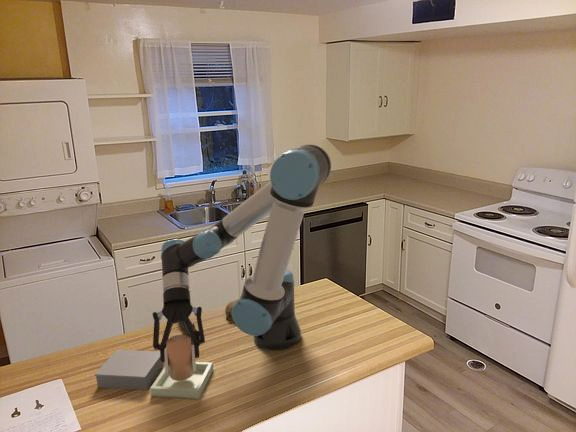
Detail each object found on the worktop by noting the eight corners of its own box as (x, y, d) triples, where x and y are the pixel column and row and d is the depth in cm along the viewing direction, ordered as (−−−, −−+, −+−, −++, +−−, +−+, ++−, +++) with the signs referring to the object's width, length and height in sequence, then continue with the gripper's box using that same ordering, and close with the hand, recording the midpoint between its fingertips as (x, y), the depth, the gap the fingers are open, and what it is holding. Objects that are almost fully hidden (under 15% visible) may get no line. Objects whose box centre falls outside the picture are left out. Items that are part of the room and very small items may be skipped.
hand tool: (200, 341, 148) (199, 328, 147) (188, 344, 147) (187, 331, 145) (188, 316, 165) (187, 305, 164) (177, 319, 163) (176, 307, 162)
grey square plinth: (164, 364, 135) (163, 351, 134) (146, 390, 123) (144, 376, 122) (118, 362, 137) (117, 349, 136) (96, 387, 125) (94, 374, 124)
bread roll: (223, 326, 164) (217, 312, 159) (235, 304, 171) (229, 290, 166) (248, 330, 160) (243, 316, 156) (259, 308, 168) (254, 293, 163)
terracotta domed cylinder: (197, 367, 128) (194, 335, 126) (189, 381, 122) (185, 347, 120) (175, 366, 129) (171, 334, 127) (166, 380, 123) (162, 346, 120)
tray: (213, 370, 131) (212, 362, 131) (198, 399, 119) (198, 390, 118) (170, 368, 133) (169, 360, 133) (151, 396, 121) (150, 388, 120)
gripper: (210, 291, 138) (217, 370, 127) (143, 299, 134) (145, 381, 123) (209, 282, 131) (217, 363, 120) (139, 289, 128) (140, 375, 116)
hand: (181, 372), depth 121 cm, fingers closed on terracotta domed cylinder, 6 cm apart
